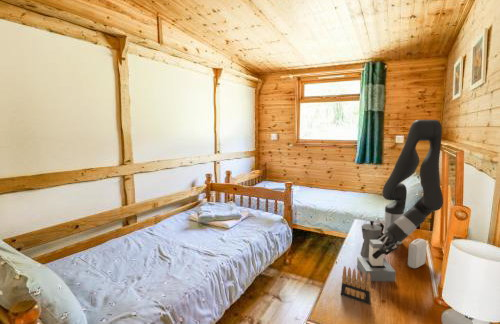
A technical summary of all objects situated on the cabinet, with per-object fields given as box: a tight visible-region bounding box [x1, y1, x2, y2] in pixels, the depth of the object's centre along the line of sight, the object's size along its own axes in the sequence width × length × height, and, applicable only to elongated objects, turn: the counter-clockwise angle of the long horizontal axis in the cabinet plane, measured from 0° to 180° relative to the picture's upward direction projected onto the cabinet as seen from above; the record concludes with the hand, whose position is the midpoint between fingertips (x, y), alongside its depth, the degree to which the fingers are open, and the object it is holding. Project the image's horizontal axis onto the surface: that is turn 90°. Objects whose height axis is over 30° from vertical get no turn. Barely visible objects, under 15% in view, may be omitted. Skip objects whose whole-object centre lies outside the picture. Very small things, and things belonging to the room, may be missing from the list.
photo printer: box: [407, 238, 428, 269], centre depth 131 cm, size 10×4×12 cm, turn 123°
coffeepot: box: [360, 220, 384, 258], centre depth 141 cm, size 15×9×18 cm, turn 118°
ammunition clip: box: [340, 265, 372, 305], centre depth 107 cm, size 11×2×12 cm, turn 55°
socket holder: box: [356, 256, 396, 283], centre depth 124 cm, size 12×12×4 cm
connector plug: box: [369, 240, 385, 266], centre depth 123 cm, size 4×4×10 cm
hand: (371, 254), depth 123 cm, fingers closed on connector plug, 4 cm apart
